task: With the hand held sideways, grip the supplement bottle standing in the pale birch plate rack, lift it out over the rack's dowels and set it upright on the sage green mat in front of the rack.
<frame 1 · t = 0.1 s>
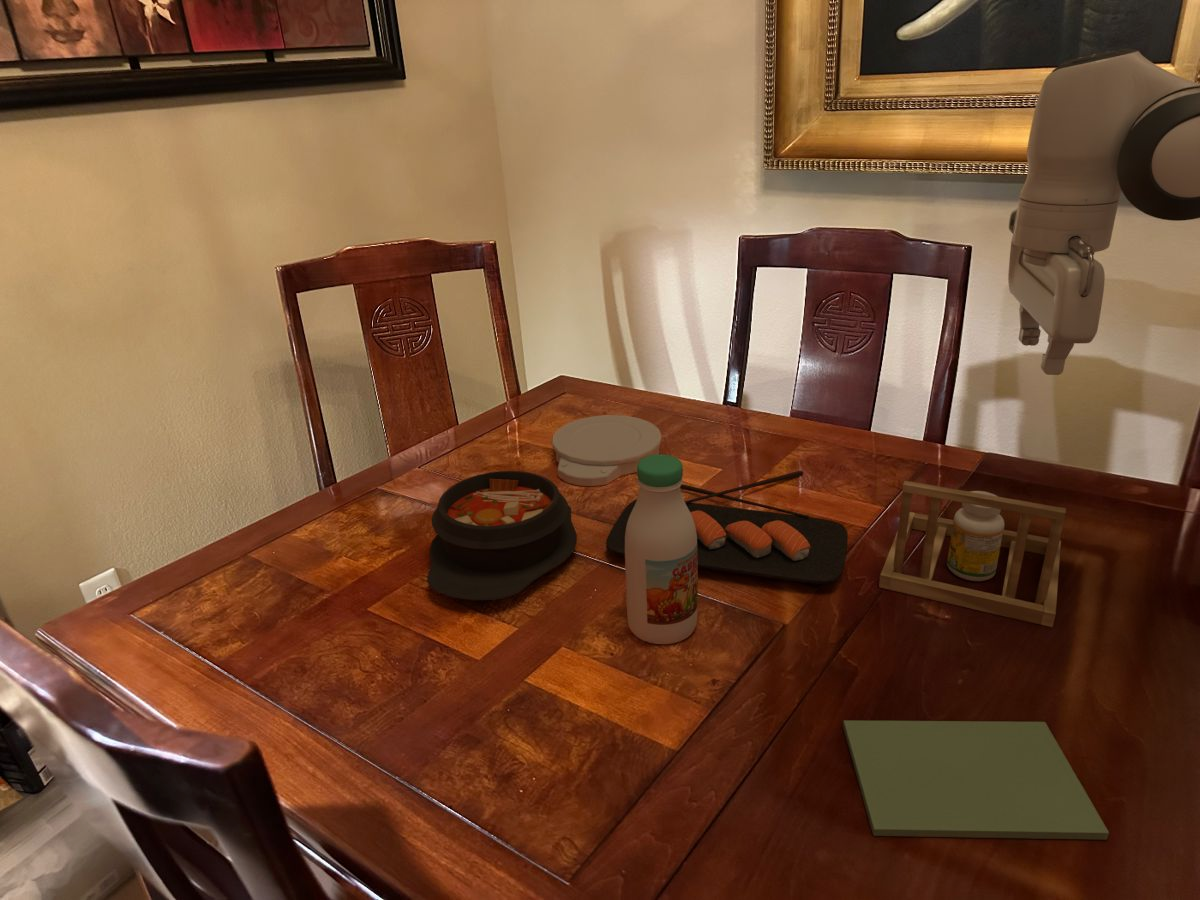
hand: (1038, 357, 91), 25 cm above the table, tool pointing down, fingers open, 8 cm apart
kitchen scale: (604, 458, 132), on the table
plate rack: (970, 569, 100), on the table
casserole: (505, 556, 107), on the table
mat: (963, 778, 72), on the table
milk bottle: (662, 625, 93), on the table
supplement bottle: (970, 571, 100), resting in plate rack
sushi plate: (737, 519, 113), on the table
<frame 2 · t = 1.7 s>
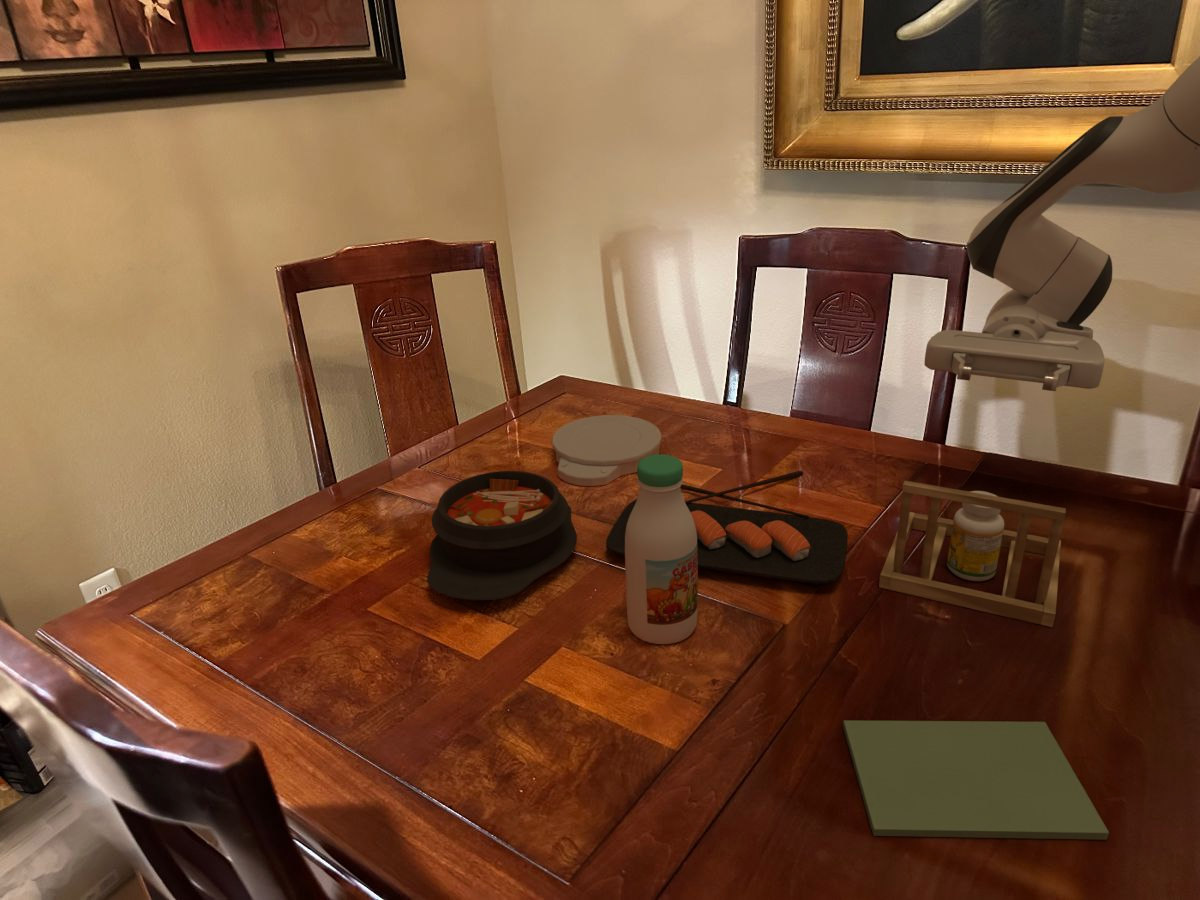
hand: (1006, 379, 101), 20 cm above the table, tool horizontal, fingers open, 8 cm apart
nothing on the table moved.
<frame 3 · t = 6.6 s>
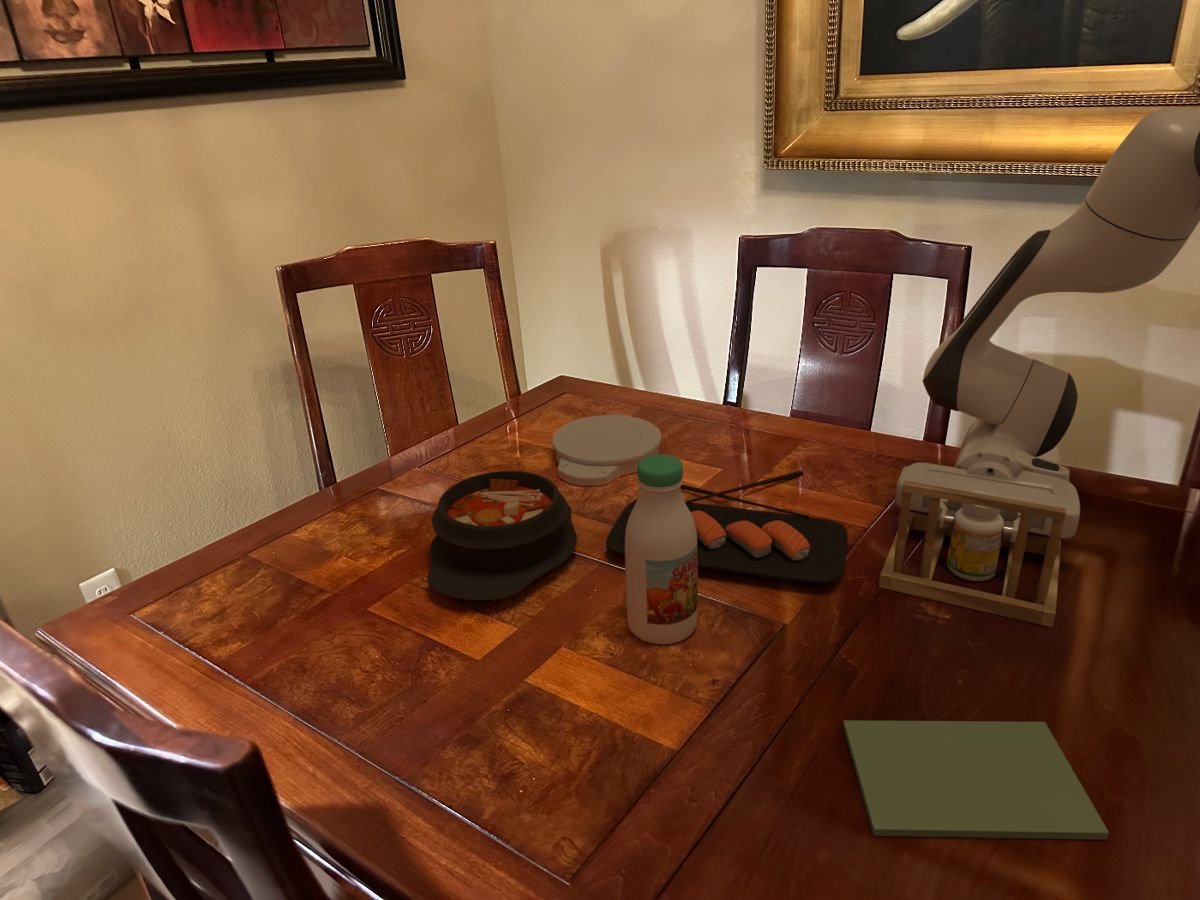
hand: (977, 529, 96), 6 cm above the table, tool horizontal, fingers closed on supplement bottle, 5 cm apart
supplement bottle: (970, 571, 100), resting in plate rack, touching gripper
everything else where it was.
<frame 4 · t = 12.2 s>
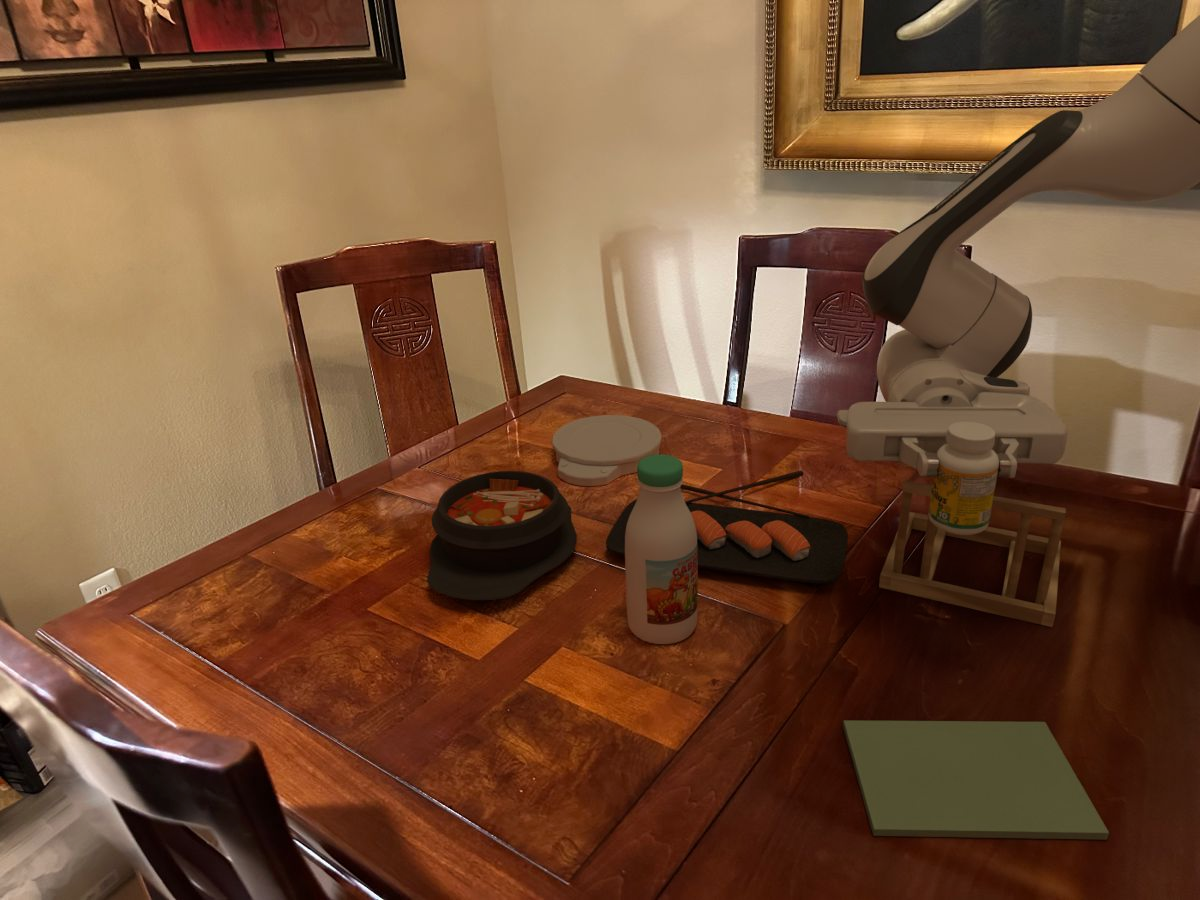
hand: (969, 470, 77), 22 cm above the table, tool horizontal, fingers closed on supplement bottle, 5 cm apart
supplement bottle: (957, 523, 80), point 15 cm above the table, touching gripper
everything else where it was.
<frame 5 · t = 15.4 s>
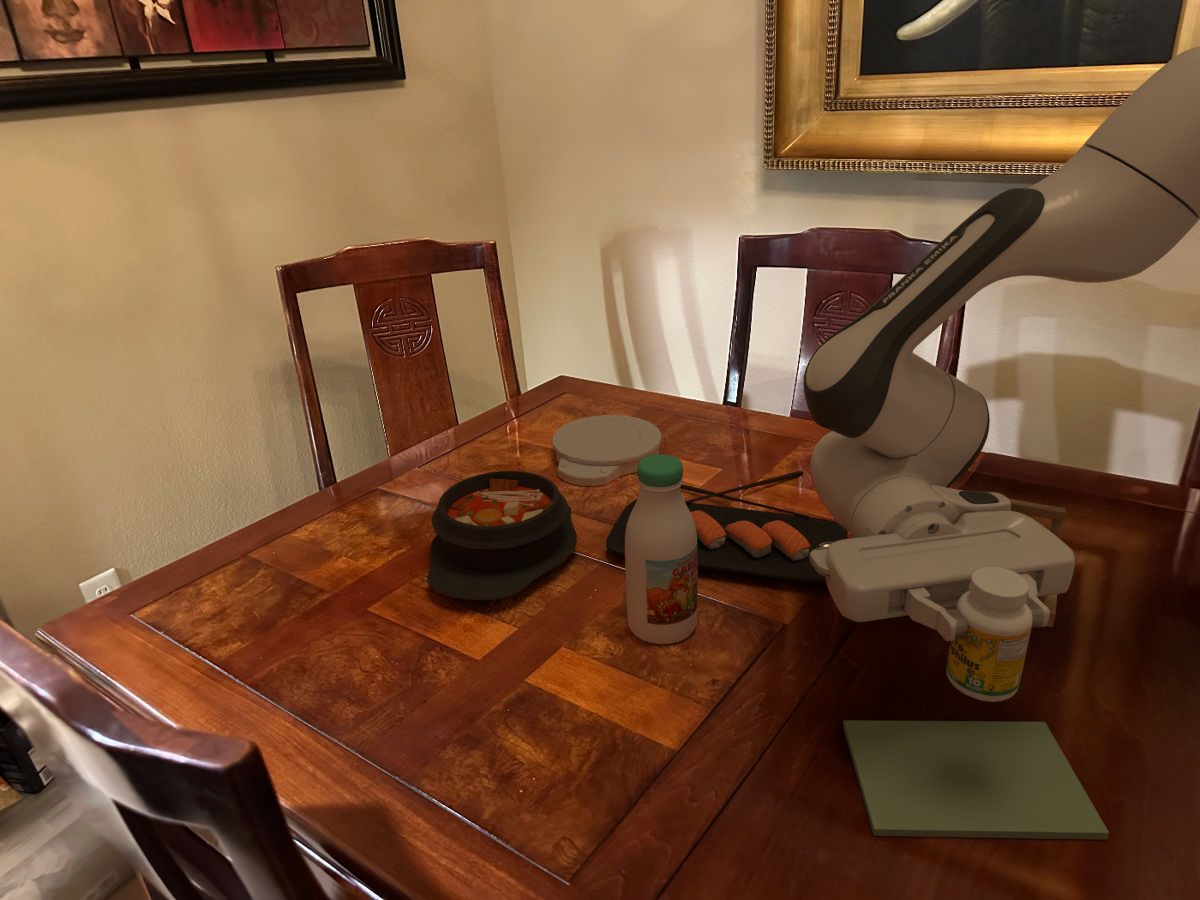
hand: (1000, 627, 64), 17 cm above the table, tool horizontal, fingers closed on supplement bottle, 5 cm apart
supplement bottle: (980, 682, 68), point 10 cm above the table, touching gripper
everything else where it was.
when the fingers open (7 cm above the table, at t = 18.1 s): supplement bottle stays where it is, resting on mat.
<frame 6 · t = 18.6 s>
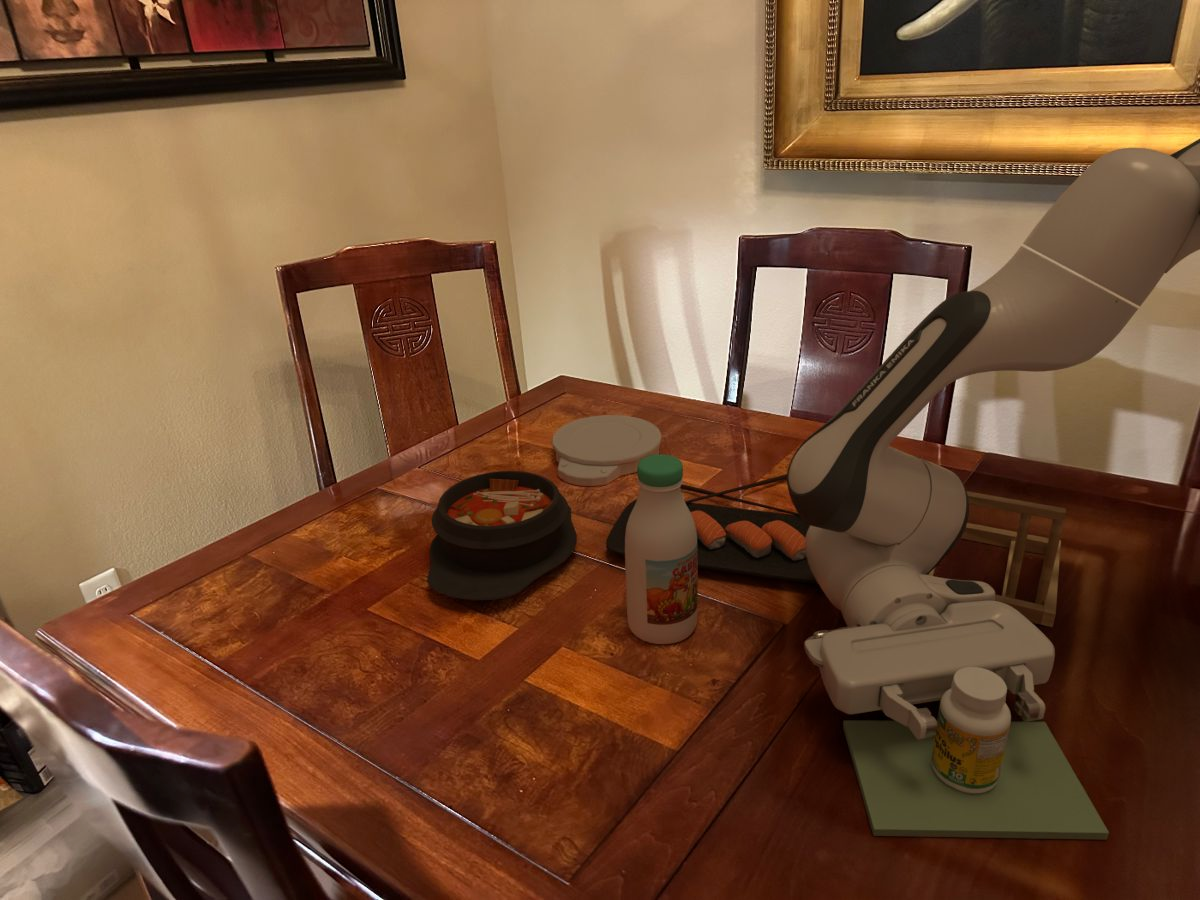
hand: (983, 723, 68), 7 cm above the table, tool horizontal, fingers open, 8 cm apart
supplement bottle: (963, 772, 72), point 1 cm above the table, touching mat
everything else where it was.
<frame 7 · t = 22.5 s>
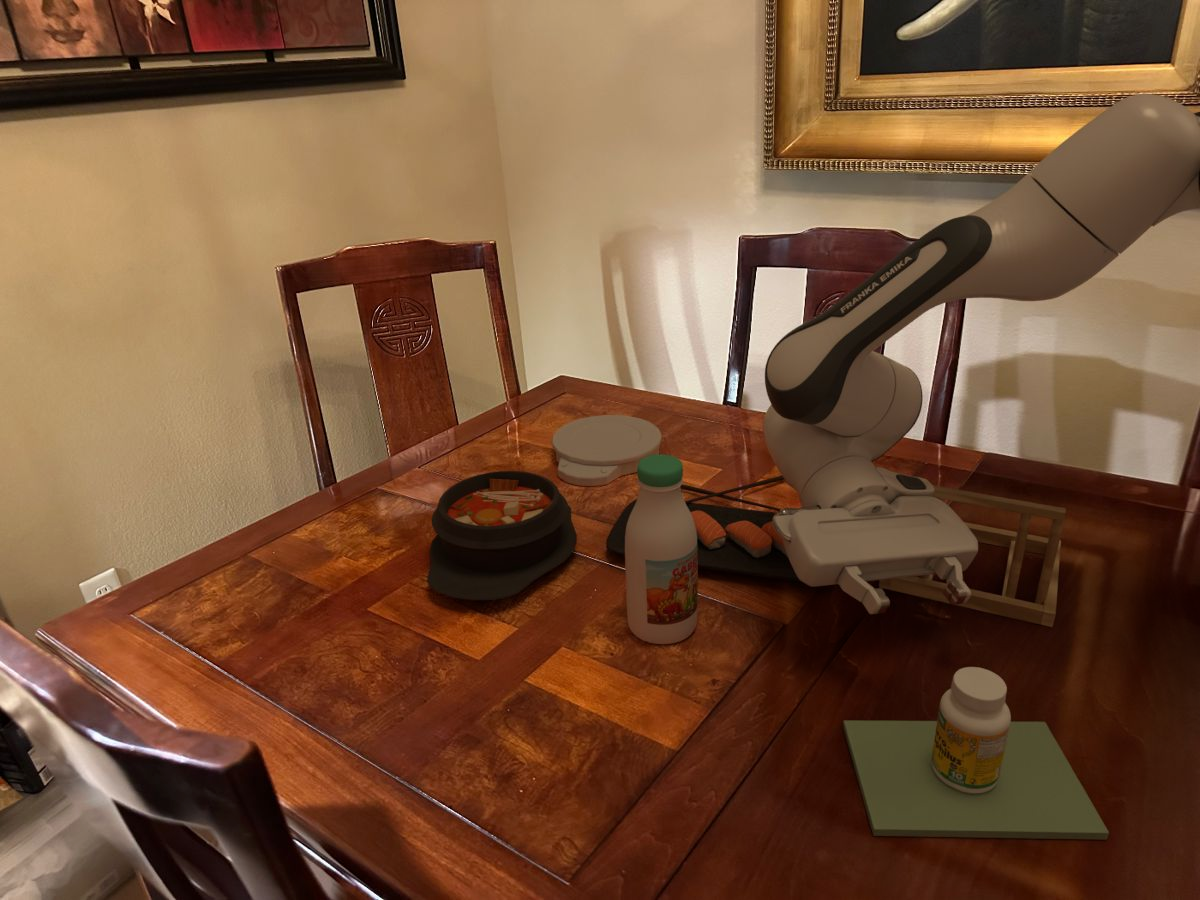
hand: (922, 604, 80), 9 cm above the table, tool tilted 75°, fingers open, 8 cm apart
nothing on the table moved.
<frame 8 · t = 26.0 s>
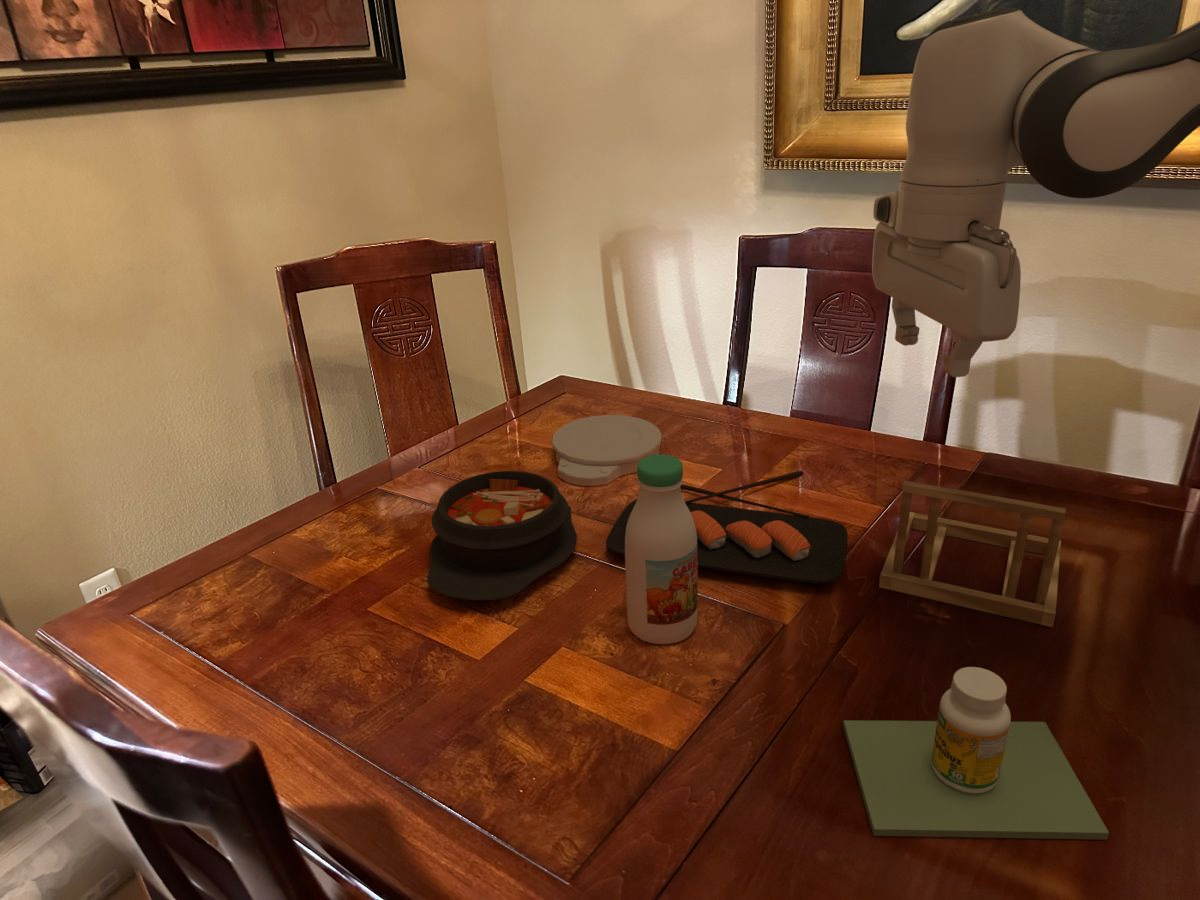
hand: (929, 358, 82), 29 cm above the table, tool pointing down, fingers open, 8 cm apart
nothing on the table moved.
at the end: supplement bottle inside the target area on the mat (0.1 cm from its centre), point 0.6 cm above the mat's base; supplement bottle tilted 0° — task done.
